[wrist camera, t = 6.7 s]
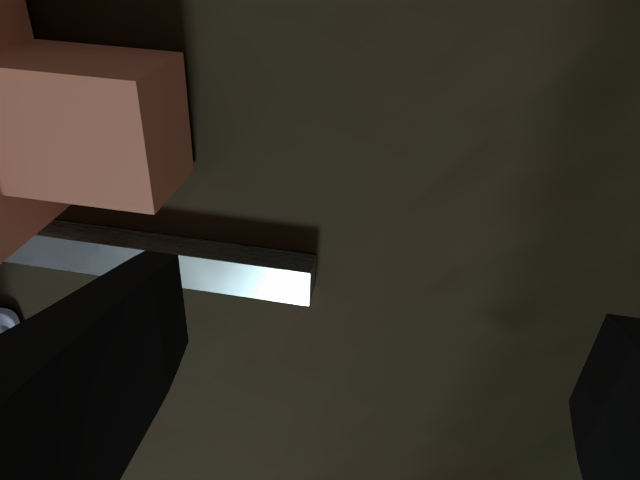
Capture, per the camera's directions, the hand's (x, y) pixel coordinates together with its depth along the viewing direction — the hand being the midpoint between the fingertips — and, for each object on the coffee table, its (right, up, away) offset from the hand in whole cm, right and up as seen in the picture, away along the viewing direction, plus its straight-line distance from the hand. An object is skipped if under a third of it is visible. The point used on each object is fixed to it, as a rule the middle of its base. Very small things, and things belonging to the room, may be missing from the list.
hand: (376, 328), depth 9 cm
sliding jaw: (-9, +6, +9) cm, 14 cm away
